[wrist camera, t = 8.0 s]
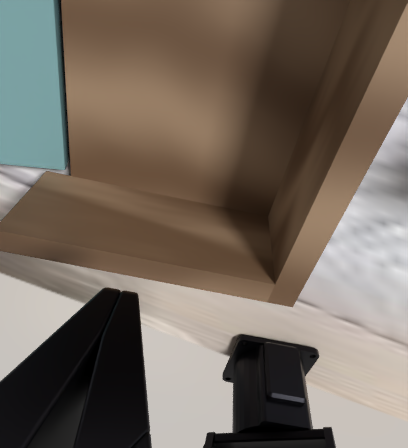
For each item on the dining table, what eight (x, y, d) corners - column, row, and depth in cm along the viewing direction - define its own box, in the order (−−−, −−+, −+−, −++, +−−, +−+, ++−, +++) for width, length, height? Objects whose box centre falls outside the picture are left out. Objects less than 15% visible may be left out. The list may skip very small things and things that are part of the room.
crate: (280, 226, 21) (292, 307, 16) (56, 180, 20) (-2, 250, 15) (445, -168, 11) (604, -264, 6) (15, -283, 10) (-182, -491, 5)
